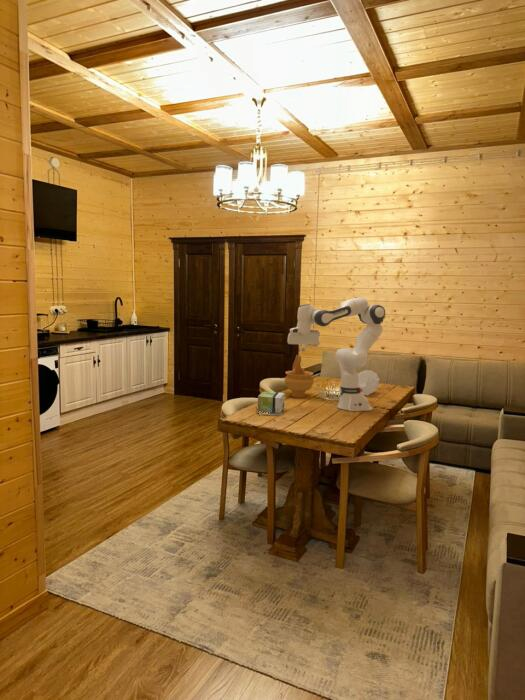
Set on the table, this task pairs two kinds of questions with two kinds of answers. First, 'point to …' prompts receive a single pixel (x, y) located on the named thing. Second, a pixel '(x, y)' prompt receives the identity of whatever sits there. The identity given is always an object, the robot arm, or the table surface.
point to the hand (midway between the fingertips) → (302, 351)
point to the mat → (270, 413)
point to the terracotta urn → (298, 379)
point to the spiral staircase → (368, 382)
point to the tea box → (271, 402)
